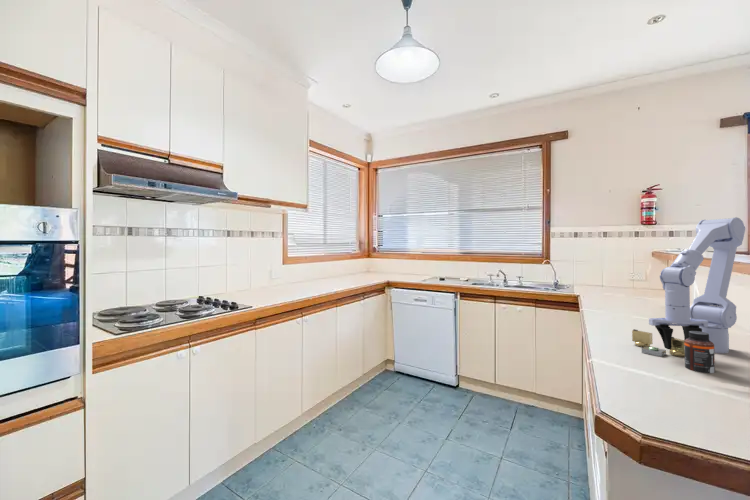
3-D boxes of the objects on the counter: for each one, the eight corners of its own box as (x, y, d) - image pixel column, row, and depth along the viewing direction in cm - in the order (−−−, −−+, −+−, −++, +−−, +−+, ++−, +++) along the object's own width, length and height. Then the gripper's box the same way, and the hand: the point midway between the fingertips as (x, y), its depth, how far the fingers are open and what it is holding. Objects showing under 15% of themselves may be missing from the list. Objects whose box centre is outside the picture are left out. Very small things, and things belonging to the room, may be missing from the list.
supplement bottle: (721, 378, 89) (720, 335, 89) (695, 376, 90) (694, 334, 90) (704, 370, 94) (703, 330, 94) (679, 369, 96) (678, 329, 96)
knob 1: (654, 347, 113) (654, 331, 113) (647, 348, 111) (647, 333, 111) (637, 343, 117) (636, 328, 117) (630, 344, 116) (630, 330, 116)
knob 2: (692, 357, 102) (692, 340, 102) (681, 357, 101) (680, 341, 101) (675, 352, 107) (675, 336, 107) (664, 352, 106) (664, 336, 106)
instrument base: (634, 346, 118) (634, 337, 118) (696, 357, 105) (696, 348, 105) (620, 352, 111) (620, 343, 111) (685, 365, 98) (684, 355, 98)
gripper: (696, 303, 106) (697, 346, 106) (643, 302, 110) (644, 344, 110) (712, 307, 99) (713, 353, 99) (655, 306, 103) (656, 350, 103)
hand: (678, 349), depth 104 cm, fingers open, 5 cm apart
